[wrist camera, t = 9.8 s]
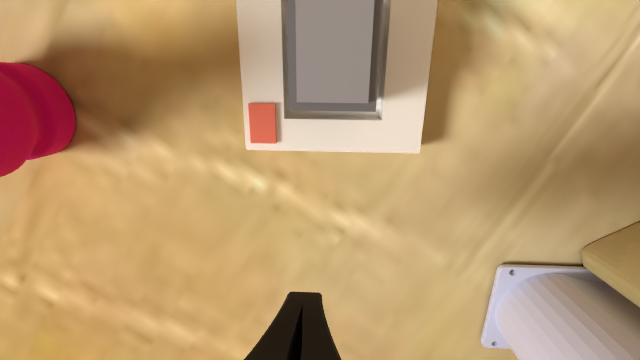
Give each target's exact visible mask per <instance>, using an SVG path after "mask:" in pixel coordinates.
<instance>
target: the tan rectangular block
mask: <svg viewBox="0 0 640 360" xmlns="http://www.w3.org/2000/svg"><path fill="white" fill-rule="evenodd" d="M581 258H582V263H583V265H584V266H585V267H586V268H587V269H588V270H589V271H591V272H592V273H593V274H595V275H596V276H597V277H599V278H600V279H602V280H603V281H604V282H606V283H607V284H608V285H610V286H611V287H612V288H614V289H615V290H616V291H618V292H619V293H621V294H622V295H623V296H625V297H626V298H627V299H629V300H630V301H631V302H633V303H634V304H635V305H637V306H638V307H639V308H640V222H638V223H636V224H633V225H631V226H629V227H626V228H624V229H622V230H620V231H617V232H615V233H613V234H610V235H608V236H606V237H604V238H601V239H599V240H597V241H595V242H593V243H591V244H589V245H587V246H586V247H584V248H583V249H582V251H581Z"/></svg>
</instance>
